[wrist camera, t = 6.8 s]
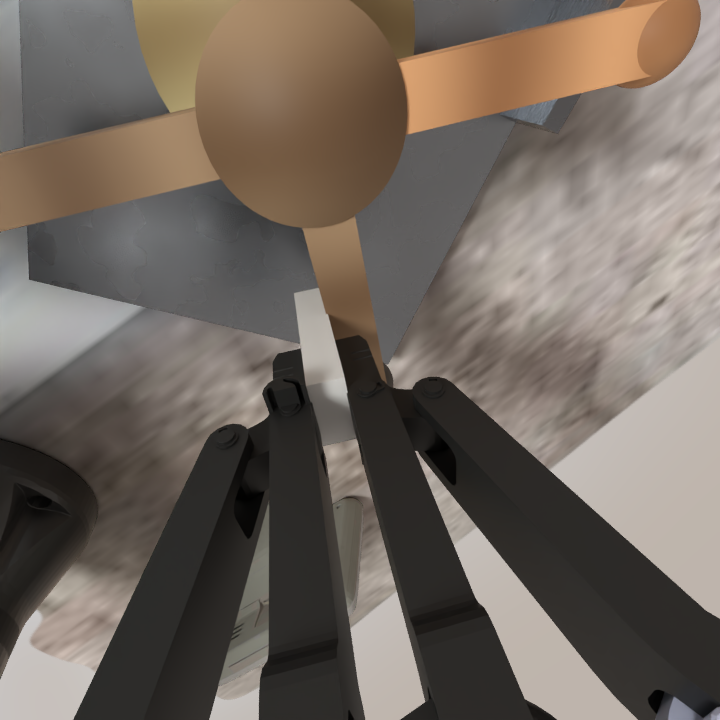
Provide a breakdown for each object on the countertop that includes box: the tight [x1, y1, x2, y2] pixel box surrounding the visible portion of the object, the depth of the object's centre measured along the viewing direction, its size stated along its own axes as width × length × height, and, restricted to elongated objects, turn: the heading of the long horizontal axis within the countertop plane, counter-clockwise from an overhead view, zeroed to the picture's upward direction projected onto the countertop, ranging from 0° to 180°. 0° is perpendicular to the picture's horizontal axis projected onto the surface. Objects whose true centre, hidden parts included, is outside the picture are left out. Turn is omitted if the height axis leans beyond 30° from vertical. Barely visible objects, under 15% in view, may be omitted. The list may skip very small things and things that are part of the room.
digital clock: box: [218, 498, 363, 686], centre depth 35 cm, size 16×9×11 cm, turn 118°
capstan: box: [0, 0, 701, 388], centre depth 14 cm, size 25×25×7 cm
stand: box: [19, 0, 625, 364], centre depth 17 cm, size 24×21×6 cm
